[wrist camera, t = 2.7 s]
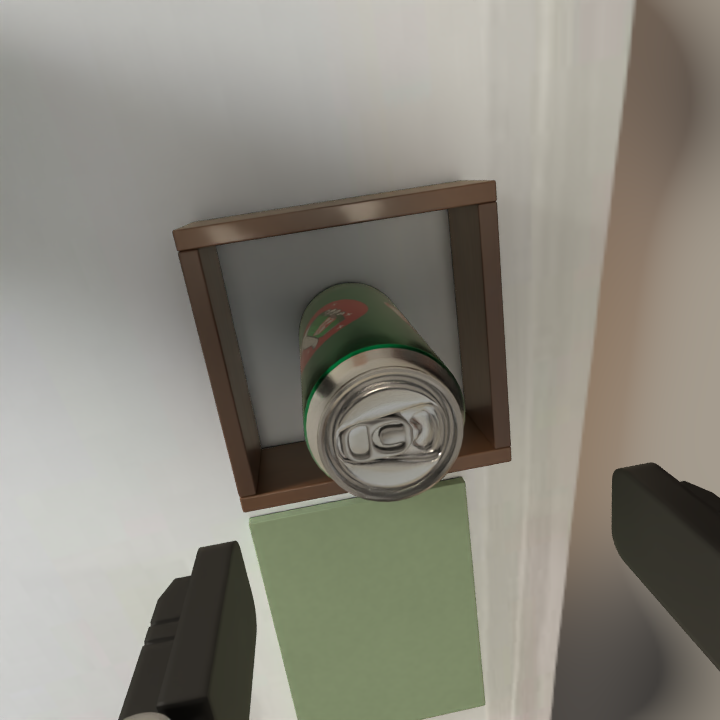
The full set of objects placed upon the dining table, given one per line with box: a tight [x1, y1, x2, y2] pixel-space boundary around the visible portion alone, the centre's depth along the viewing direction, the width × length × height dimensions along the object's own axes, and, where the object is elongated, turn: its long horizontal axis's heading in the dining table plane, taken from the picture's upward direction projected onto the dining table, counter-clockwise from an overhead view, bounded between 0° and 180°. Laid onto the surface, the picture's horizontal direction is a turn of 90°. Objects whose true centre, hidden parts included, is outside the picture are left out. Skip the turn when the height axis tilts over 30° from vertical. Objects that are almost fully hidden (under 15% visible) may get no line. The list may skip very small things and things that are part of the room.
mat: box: [249, 477, 485, 720], centre depth 33 cm, size 12×17×1 cm
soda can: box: [299, 283, 465, 502], centre depth 21 cm, size 5×5×12 cm
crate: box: [172, 180, 511, 512], centre depth 25 cm, size 13×13×4 cm
